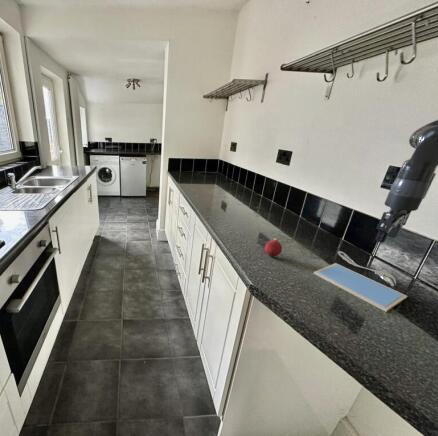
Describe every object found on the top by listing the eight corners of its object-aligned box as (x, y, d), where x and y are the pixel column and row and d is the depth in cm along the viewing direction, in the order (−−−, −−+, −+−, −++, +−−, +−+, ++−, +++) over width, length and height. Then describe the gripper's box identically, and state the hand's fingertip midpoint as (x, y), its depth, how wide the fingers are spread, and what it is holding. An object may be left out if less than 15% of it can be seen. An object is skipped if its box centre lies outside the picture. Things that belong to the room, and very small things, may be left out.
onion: (274, 262, 88) (279, 243, 85) (260, 255, 92) (264, 237, 89) (281, 257, 91) (287, 239, 88) (267, 251, 95) (272, 234, 92)
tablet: (334, 264, 88) (335, 262, 87) (406, 298, 71) (408, 295, 71) (313, 273, 82) (314, 271, 82) (386, 312, 65) (387, 309, 65)
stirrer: (336, 247, 93) (345, 246, 93) (332, 254, 94) (341, 253, 95) (392, 280, 75) (403, 279, 76) (387, 289, 77) (397, 287, 77)
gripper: (413, 199, 66) (390, 248, 72) (432, 194, 72) (409, 240, 78) (380, 192, 73) (361, 238, 79) (400, 188, 79) (380, 231, 85)
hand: (385, 239), depth 79 cm, fingers open, 8 cm apart
